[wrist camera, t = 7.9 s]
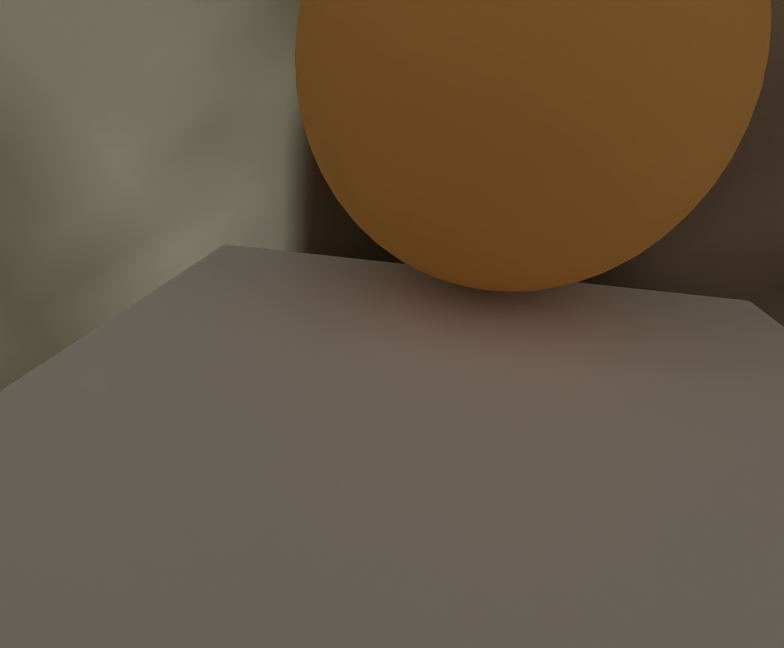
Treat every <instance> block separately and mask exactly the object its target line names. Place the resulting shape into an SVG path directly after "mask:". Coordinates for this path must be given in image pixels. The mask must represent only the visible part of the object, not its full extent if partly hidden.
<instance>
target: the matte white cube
mask: <svg viewBox="0 0 784 648" xmlns="http://www.w3.org/2000/svg"><path fill="white" fill-rule="evenodd" d="M0 648H784V327H783V326H782V325H780V324H779V323H778V322H776V321H775V320H774V319H773V318H771V317H770V316H769V315H767V314H766V313H765V312H763V311H762V310H761V309H759V308H758V307H757V306H756V305H754V304H753V303H752V302H750V301H747V300H738V299H728V298H719V297H710V296H700V295H691V294H682V293H672V292H663V291H654V290H644V289H635V288H626V287H616V286H607V285H598V284H588V283H579V282H577V283H573V284H570V285H565V286H559V287H554V288H549V289H544V290H538V291H525V292H506V291H488V290H480V289H474V288H469V287H465V286H461V285H457V284H453V283H449V282H446V281H443V280H440V279H437V278H434V277H432V276H430V275H428V274H425V273H423V272H421V271H419V270H417V269H415V268H413V267H411V266H409V265H407V264H402V263H392V262H383V261H374V260H364V259H355V258H346V257H336V256H327V255H318V254H308V253H299V252H290V251H280V250H271V249H262V248H252V247H243V246H234V245H223V246H222V247H220V248H219V249H217V250H215V251H214V252H212V253H211V254H209V255H208V256H206V257H205V258H203V259H202V260H200V261H199V262H197V263H196V264H194V265H193V266H191V267H189V268H188V269H186V270H185V271H183V272H182V273H180V274H179V275H177V276H176V277H174V278H173V279H171V280H170V281H168V282H167V283H165V284H163V285H162V286H160V287H159V288H157V289H156V290H154V291H153V292H151V293H150V294H148V295H147V296H145V297H144V298H142V299H141V300H139V301H138V302H136V303H134V304H133V305H131V306H130V307H128V308H127V309H125V310H124V311H122V312H121V313H119V314H118V315H116V316H115V317H113V318H112V319H110V320H108V321H107V322H105V323H104V324H102V325H101V326H99V327H98V328H96V329H95V330H93V331H92V332H90V333H89V334H87V335H86V336H84V337H82V338H81V339H79V340H78V341H76V342H75V343H73V344H72V345H70V346H69V347H67V348H66V349H64V350H63V351H61V352H60V353H58V354H56V355H55V356H53V357H52V358H50V359H49V360H47V361H46V362H44V363H43V364H41V365H40V366H38V367H37V368H35V369H34V370H32V371H30V372H29V373H27V374H26V375H24V376H23V377H21V378H20V379H18V380H17V381H15V382H14V383H12V384H11V385H9V386H8V387H6V388H4V389H3V390H1V391H0Z"/></svg>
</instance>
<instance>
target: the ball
mask: <svg viewBox="0 0 784 648" xmlns="http://www.w3.org/2000/svg"><path fill="white" fill-rule="evenodd" d="M771 22H772V12H771V0H302V3H301V8H300V12H299V17H298V24H297V37H296V50H295V64H296V87H297V93H298V99H299V105H300V111H301V117H302V121H303V125H304V128H305V131H306V135H307V138H308V141H309V145H310V148H311V150H312V153H313V155H314V157H315V159H316V162H317V164H318V166H319V168H320V171H321V173H322V175H323V177H324V178H325V180H326V182H327V183H328V185H329V187H330V188H331V190H332V192H333V193H334V195H335V197H336V198H337V200H338V201H339V203H340V204H341V205H342V206H343V208H344V209H345V210H346V211H347V213H348V214H349V215H350V216H351V218H352V219H353V220H354V222H355V223H356V224H357V225H358V226H359V227H360V228H361V229H362V230H363V231H364V232H365V233H366V234H367V235H368V236H370V237H371V238H372V239H373V240H374V241H375V242H376V243H377V244H378V245H380V246H381V247H382V248H384V249H385V250H386V251H388V252H389V253H391V254H392V255H393V256H395V257H396V258H398V259H399V260H400V261H402V262H404V263H406V264H407V265H409V266H411V267H413V268H415V269H417V270H419V271H421V272H423V273H425V274H428V275H430V276H432V277H434V278H437V279H440V280H443V281H446V282H449V283H453V284H457V285H461V286H465V287H469V288H474V289H480V290H488V291H506V292H525V291H538V290H544V289H549V288H554V287H559V286H565V285H570V284H573V283H577V282H579V281H582V280H585V279H588V278H591V277H594V276H596V275H599V274H602V273H604V272H606V271H609V270H611V269H613V268H614V267H616V266H618V265H620V264H622V263H624V262H626V261H628V260H630V259H632V258H634V257H636V256H637V255H639V254H640V253H642V252H643V251H644V250H646V249H647V248H649V247H650V246H652V245H653V244H655V243H656V242H658V241H659V240H660V239H662V238H663V237H664V236H665V235H666V234H667V233H668V232H670V231H671V230H672V229H673V228H674V227H675V226H676V225H677V224H679V223H680V222H681V221H682V220H683V219H684V218H685V217H686V216H687V215H688V214H689V213H690V212H691V211H692V210H693V209H694V208H695V207H696V205H697V204H698V203H699V202H700V201H701V200H702V199H703V197H704V196H705V195H706V194H707V193H708V192H709V191H710V190H711V188H712V187H713V186H714V184H715V183H716V181H717V180H718V178H719V177H720V175H721V174H722V172H723V171H724V169H725V168H726V166H727V165H728V164H729V162H730V161H731V159H732V157H733V155H734V153H735V151H736V149H737V147H738V145H739V144H740V142H741V140H742V138H743V136H744V134H745V132H746V130H747V128H748V126H749V123H750V120H751V117H752V115H753V112H754V109H755V106H756V104H757V101H758V98H759V95H760V93H761V88H762V84H763V79H764V75H765V70H766V66H767V61H768V57H769V47H770V34H771Z"/></svg>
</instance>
